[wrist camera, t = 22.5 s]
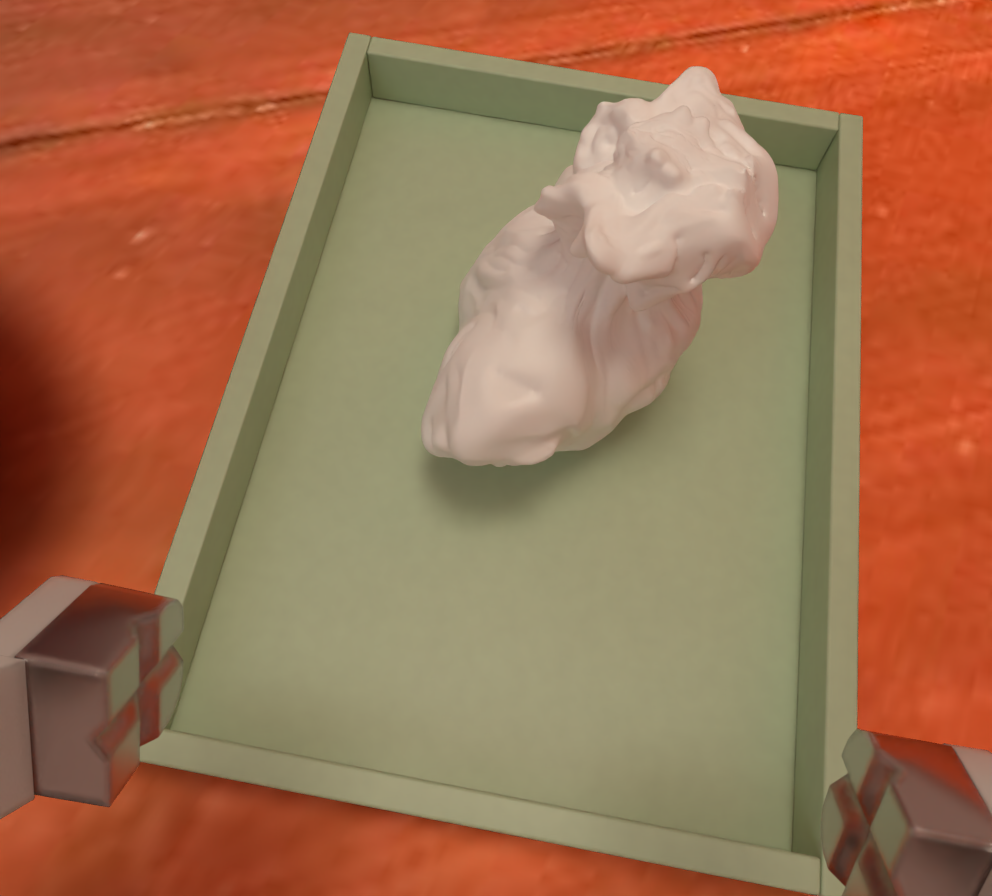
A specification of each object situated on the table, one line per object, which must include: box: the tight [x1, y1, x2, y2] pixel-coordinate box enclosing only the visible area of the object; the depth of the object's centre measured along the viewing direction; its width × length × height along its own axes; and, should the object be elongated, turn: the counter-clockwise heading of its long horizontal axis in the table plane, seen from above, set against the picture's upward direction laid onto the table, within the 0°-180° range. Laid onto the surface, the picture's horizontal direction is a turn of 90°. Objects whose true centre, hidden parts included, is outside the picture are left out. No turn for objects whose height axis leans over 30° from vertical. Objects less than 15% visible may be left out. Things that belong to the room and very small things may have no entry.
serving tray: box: [140, 33, 863, 896], centre depth 25 cm, size 18×24×3 cm
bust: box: [421, 66, 779, 467], centre depth 22 cm, size 12×8×11 cm
